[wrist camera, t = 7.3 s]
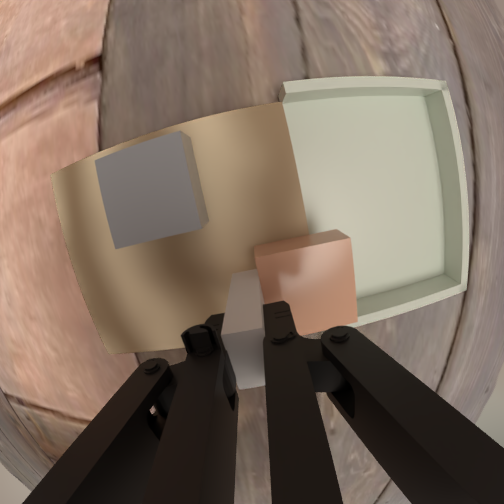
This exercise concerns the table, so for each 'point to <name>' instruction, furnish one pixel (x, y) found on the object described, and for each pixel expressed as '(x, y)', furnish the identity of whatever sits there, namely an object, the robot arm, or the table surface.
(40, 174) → the table surface
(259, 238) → the pine board
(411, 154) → the tray
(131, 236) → the slate tile
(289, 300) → the terracotta tile
